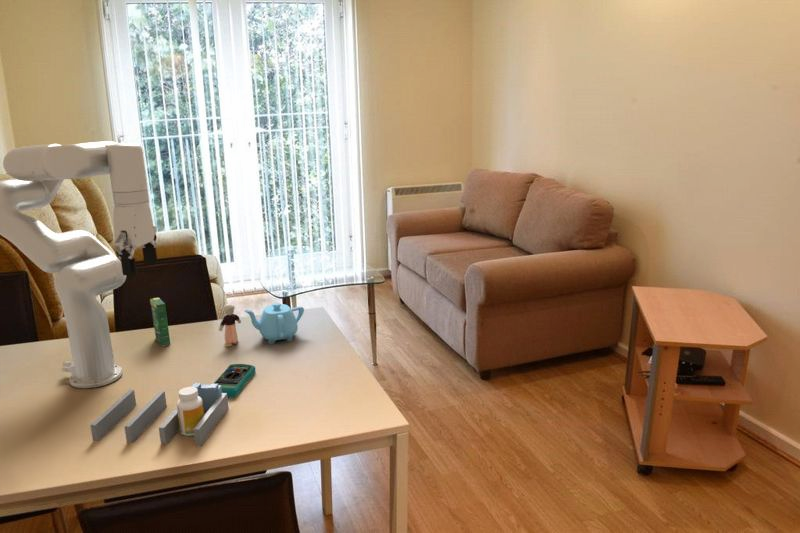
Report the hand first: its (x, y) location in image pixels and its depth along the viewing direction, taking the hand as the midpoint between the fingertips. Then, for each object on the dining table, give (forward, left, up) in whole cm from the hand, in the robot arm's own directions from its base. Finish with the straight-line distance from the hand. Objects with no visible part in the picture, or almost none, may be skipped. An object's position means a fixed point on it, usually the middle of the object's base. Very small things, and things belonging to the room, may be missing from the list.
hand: (140, 269), depth 143 cm
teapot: (+20, +36, -33) cm, 53 cm away
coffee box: (-14, +31, -32) cm, 47 cm away
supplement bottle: (+17, -17, -32) cm, 40 cm away
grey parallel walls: (+9, -15, -32) cm, 37 cm away
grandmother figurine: (+8, +31, -32) cm, 46 cm away
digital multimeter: (+18, +5, -33) cm, 38 cm away
